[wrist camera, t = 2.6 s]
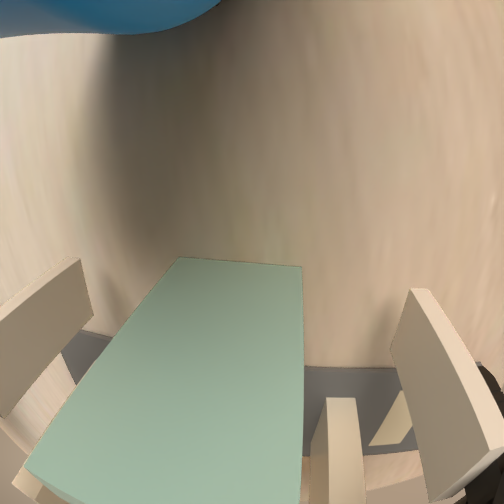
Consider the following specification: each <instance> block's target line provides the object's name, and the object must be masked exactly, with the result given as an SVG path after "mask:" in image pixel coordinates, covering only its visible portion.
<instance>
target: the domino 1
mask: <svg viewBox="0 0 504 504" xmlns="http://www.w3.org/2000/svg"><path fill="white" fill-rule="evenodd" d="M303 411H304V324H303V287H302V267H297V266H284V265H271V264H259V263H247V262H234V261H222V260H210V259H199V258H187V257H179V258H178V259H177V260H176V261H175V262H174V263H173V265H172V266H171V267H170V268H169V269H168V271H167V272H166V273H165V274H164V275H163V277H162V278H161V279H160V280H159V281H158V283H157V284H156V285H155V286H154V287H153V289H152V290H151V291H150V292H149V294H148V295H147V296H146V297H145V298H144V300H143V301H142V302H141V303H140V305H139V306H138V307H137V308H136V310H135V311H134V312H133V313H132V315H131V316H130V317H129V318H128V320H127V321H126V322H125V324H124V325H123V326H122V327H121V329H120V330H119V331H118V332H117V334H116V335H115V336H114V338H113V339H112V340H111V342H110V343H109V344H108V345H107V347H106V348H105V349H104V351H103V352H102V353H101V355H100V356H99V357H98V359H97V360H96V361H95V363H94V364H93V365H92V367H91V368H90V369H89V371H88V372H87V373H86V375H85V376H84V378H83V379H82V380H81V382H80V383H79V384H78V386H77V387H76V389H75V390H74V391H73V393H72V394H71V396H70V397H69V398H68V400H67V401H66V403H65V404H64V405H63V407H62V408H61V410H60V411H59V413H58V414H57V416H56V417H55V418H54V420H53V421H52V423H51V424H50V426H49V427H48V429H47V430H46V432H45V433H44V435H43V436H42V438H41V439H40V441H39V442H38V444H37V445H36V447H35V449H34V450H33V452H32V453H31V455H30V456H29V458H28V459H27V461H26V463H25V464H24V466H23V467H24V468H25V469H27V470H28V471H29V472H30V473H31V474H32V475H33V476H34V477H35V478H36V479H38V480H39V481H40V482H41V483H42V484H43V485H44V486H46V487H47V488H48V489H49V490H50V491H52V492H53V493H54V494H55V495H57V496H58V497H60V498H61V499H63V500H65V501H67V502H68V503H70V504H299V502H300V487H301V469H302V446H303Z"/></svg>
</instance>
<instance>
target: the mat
mask: <svg viewBox="0 0 504 504" xmlns="http://www.w3.org/2000/svg"><path fill="white" fill-rule="evenodd" d="M112 339H113V338H111V337H107V336H103V335H99V334H95V333H92V332H88V331H84V330H79V332H78V333H77V334H76V335H75V336H74V337H73V338H72V339H71V340H70V341H69V343H68V344H67V345H66V346H65V347H64V348H63V349H62V350H61V354H62V356H63V358H64V361H65V363H66V365H67V367H68V370H69V372H70V374H71V376H72V378H73V380H74V382H75V384H76V386H77V384H78V383H79V382H80V380H81V379H82V377H83V376H84V375H85V373H86V372H87V371H88V369H89V368H90V367H91V365H92V364H93V363H94V361H95V360H97V359H98V357H99V356H100V355H101V353H102V352H103V351H104V349H105V348H106V347H107V345H108V344H109V343H110V342H111V340H112ZM475 364H476V365H477V366H482V364H481V362H475ZM326 397H330V398H355V399H356V406H357V414H358V421H359V429H360V437H361V446H362V455H377V454H388V453H397V452H405V451H412V450H419V449H418V445H417V441H416V437H415V433H414V429H413V425H412V421H411V417H410V413H409V410H408V406H407V403H406V399H405V396H404V392H403V389H402V386H401V382H400V379H399V376H398V373H397V370H396V368H329V367H308V366H304V411H303V446H302V456H310V452H311V441H312V438H313V435H314V433H315V430H316V427H317V424H318V421H319V418H320V415H321V412H322V409H323V406H324V403H325V400H326Z"/></svg>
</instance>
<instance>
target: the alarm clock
mask: <svg viewBox="0 0 504 504" xmlns="http://www.w3.org/2000/svg"><path fill="white" fill-rule="evenodd" d="M220 1H221V0H0V38H5V37H13V36H22V35H33V34H49V33H99V34H116V35H135V34H144V33H153V32H159V31H163V30H168V29H171V28H174V27H176V26H179V25H182V24H184V23H186V22H189V21H191V20H193V19H195V18H197V17H199V16H201V15H202V14H204V13H205V12H207V11H209V10H210V9H211V8H213V7H214V6H217V5H218V4H219V3H220Z"/></svg>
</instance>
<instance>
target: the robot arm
mask: <svg viewBox="0 0 504 504" xmlns="http://www.w3.org/2000/svg"><path fill="white" fill-rule="evenodd" d="M93 315H94V314H93V310H92V307H91V303H90V299H89V295H88V291H87V287H86V283H85V279H84V274H83V270H82V265H81V260H80V258H72V257H66V258H65V259H63V260H62V261H61V262H59V263H58V264H56V265H55V266H53V267H52V268H51V269H49V270H48V271H46V272H45V273H44V274H42V275H41V276H39V277H38V278H37V279H35V280H34V281H33V282H31V283H30V284H29V285H27V286H26V287H25V288H23V289H22V290H21V291H19V292H18V293H17V294H16V295H14V296H13V297H12V298H10V299H9V300H8V301H7V302H5V303H4V304H3V305H2V306H0V416H1V417H2V418H3V419H5V418H6V417H7V415H8V414H9V413H10V412H11V410H12V409H13V408H14V406H15V405H16V404H17V403H18V401H19V400H20V399H21V398H22V396H23V395H24V394H25V393H26V391H27V390H28V389H29V388H30V387H31V385H32V384H33V383H34V382H35V381H36V379H37V378H38V377H39V376H40V375H41V373H42V372H43V371H44V370H45V369H46V368H47V366H48V365H49V364H50V363H51V362H52V361H53V359H54V358H55V357H56V356H57V355H58V354H59V353H60V351H61V350H62V349H63V348H64V347H65V346H66V345H67V344H68V343H69V341H70V340H71V339H72V338H73V337H74V336H75V335H76V334H77V333H78V332H79V330H80V329H81V328H82V327H83V326H84V325H85V324H86V323H87V322H88V321H89V320H90V319H91V318H92V317H93ZM390 351H391V354H392V357H393V360H394V363H395V366H396V370H397V373H398V376H399V379H400V382H401V386H402V389H403V392H404V396H405V399H406V403H407V406H408V410H409V413H410V417H411V421H412V425H413V429H414V433H415V437H416V441H417V445H418V449H419V453H420V458H421V463H422V467H423V472H424V477H425V482H426V488H427V493H428V499H429V503H432V502H436V501H440V500H443V499H447V498H450V497H453V496H454V495H455V494H457V493H458V492H459V491H461V490H462V489H463V488H465V492H466V495H465V496H464V497H463V498H461V499H460V500H458V501H457V502H456V503H454V504H504V394H503V392H501V388H500V386H499V385H498V383H497V381H496V379H495V377H494V376H493V375H492V374H491V373H490V372H489V371H488V370H487V369H486V368H485V367H484V366H477V365H476V364H475V362H474V360H473V358H472V357H471V355H470V353H469V352H468V350H467V348H466V346H465V345H464V343H463V341H462V340H461V338H460V337H459V335H458V333H457V332H456V330H455V329H454V327H453V325H452V324H451V322H450V321H449V319H448V318H447V316H446V315H445V313H444V312H443V310H442V309H441V307H440V306H439V304H438V303H437V301H436V300H435V298H434V297H433V295H432V294H431V292H430V291H429V290H428V289H421V288H410V289H409V292H408V296H407V299H406V302H405V306H404V309H403V312H402V315H401V318H400V321H399V324H398V327H397V330H396V333H395V336H394V339H393V342H392V344H391V347H390Z"/></svg>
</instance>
